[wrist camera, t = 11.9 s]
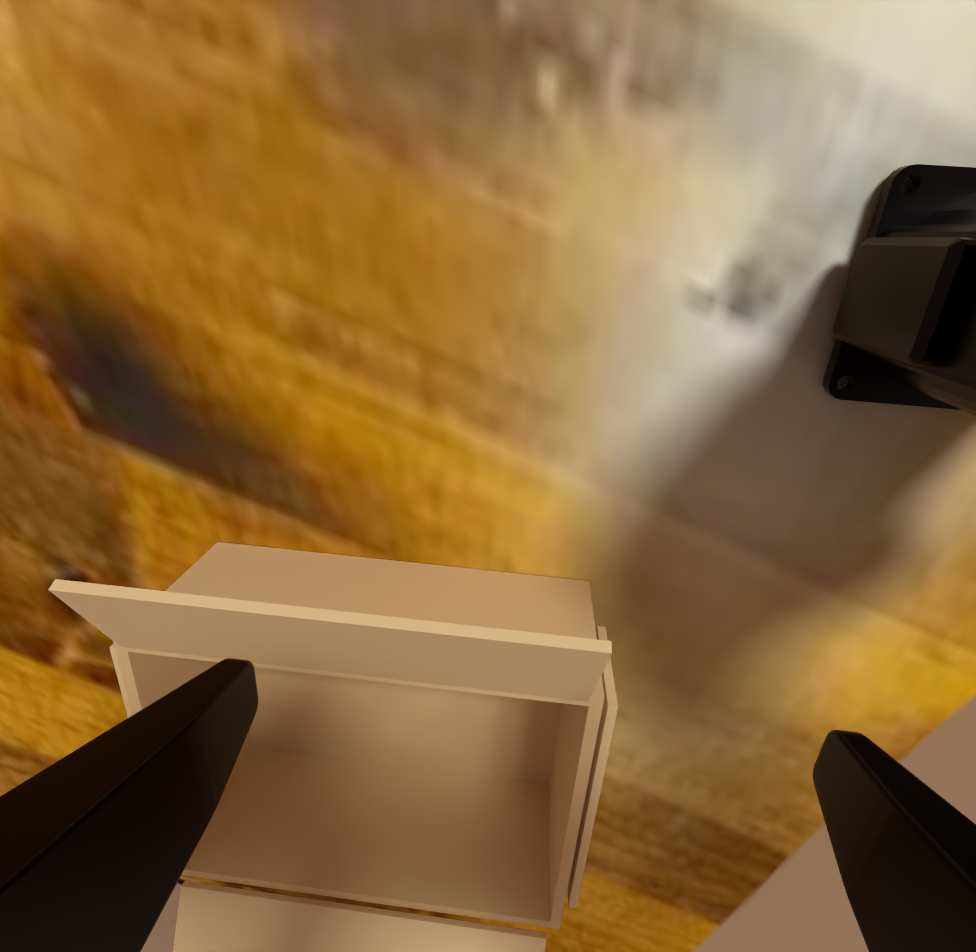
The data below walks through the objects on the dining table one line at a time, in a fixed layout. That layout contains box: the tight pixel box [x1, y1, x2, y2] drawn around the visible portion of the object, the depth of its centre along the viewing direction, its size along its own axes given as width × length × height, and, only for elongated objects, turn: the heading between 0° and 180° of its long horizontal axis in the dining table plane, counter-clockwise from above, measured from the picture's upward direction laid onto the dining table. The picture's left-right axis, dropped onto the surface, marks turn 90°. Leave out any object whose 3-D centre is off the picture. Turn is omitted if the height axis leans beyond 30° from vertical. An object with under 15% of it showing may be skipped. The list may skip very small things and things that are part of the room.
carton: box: [110, 542, 618, 929], centre depth 22 cm, size 16×12×6 cm
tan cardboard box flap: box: [49, 579, 612, 702], centre depth 15 cm, size 14×4×1 cm, turn 86°
